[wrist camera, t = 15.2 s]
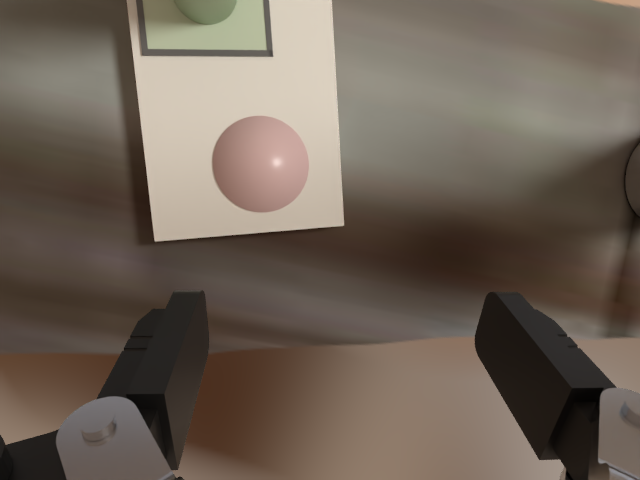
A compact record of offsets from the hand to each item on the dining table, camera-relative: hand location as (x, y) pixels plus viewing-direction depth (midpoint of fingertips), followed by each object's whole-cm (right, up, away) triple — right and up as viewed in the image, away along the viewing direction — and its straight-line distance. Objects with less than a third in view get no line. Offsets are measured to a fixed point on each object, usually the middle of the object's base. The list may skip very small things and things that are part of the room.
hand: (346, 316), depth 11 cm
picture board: (-7, +14, +19) cm, 24 cm away
